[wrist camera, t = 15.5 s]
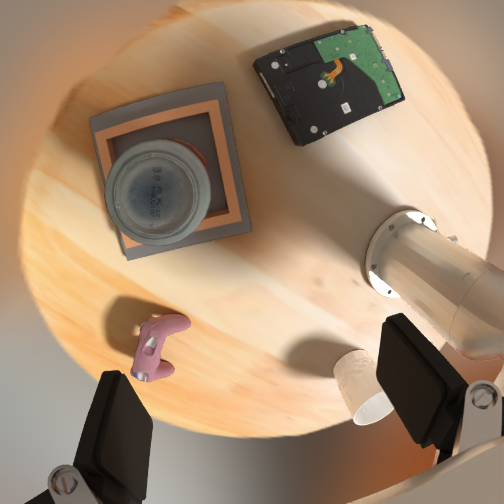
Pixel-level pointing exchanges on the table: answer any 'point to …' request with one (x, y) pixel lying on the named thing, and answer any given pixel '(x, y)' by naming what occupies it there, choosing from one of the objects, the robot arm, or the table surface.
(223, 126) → the cradle jig
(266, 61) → the disk drive
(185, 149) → the soda can
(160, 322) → the video game controller
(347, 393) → the white cup
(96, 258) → the table surface
